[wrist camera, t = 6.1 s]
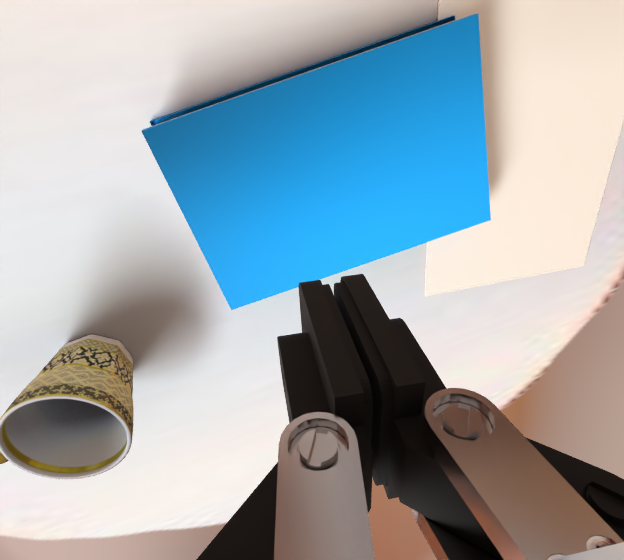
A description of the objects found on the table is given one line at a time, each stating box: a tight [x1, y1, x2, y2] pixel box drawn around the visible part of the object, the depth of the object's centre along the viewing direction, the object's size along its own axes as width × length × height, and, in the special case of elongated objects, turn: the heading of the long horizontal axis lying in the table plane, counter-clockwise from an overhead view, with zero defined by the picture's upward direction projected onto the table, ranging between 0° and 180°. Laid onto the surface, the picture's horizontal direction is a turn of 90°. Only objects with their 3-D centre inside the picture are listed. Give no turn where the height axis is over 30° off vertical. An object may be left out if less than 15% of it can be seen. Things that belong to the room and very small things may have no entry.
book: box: [142, 14, 491, 310], centre depth 35 cm, size 17×4×25 cm
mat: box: [425, 0, 624, 297], centre depth 39 cm, size 31×19×1 cm, turn 6°
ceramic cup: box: [0, 334, 133, 479], centre depth 38 cm, size 13×10×10 cm
